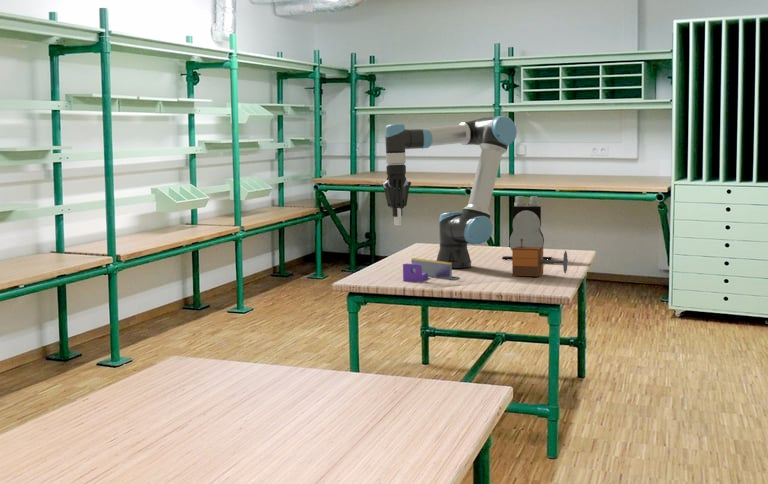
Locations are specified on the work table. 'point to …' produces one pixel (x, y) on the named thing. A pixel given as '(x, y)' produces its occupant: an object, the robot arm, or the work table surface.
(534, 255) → the brown box with disc
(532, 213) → the mechanical component
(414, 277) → the bracket
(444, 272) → the wall
